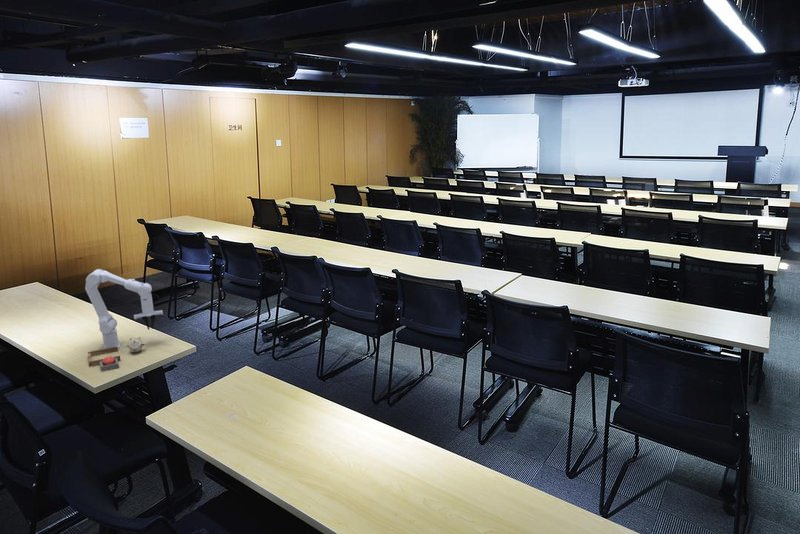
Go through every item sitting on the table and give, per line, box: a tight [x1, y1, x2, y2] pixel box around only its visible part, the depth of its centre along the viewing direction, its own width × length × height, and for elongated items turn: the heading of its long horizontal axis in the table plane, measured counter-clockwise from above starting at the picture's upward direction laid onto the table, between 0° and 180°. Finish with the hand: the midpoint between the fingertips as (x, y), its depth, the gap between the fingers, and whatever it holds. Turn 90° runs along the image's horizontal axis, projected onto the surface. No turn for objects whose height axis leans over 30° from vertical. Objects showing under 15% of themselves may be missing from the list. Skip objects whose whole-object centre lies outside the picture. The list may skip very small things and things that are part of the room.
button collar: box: [99, 358, 120, 372], centre depth 280 cm, size 8×8×2 cm
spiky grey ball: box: [125, 336, 145, 354], centre depth 297 cm, size 9×8×10 cm
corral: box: [87, 346, 122, 368], centre depth 289 cm, size 15×14×2 cm
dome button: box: [102, 355, 115, 366], centre depth 279 cm, size 5×5×4 cm
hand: (150, 328), depth 305 cm, fingers closed
